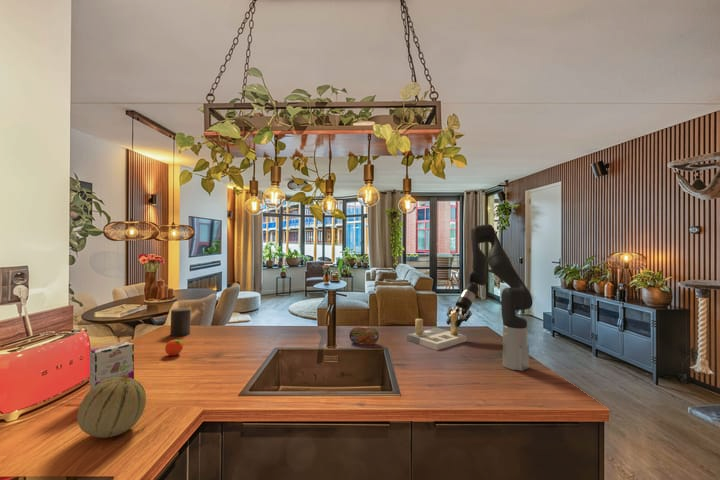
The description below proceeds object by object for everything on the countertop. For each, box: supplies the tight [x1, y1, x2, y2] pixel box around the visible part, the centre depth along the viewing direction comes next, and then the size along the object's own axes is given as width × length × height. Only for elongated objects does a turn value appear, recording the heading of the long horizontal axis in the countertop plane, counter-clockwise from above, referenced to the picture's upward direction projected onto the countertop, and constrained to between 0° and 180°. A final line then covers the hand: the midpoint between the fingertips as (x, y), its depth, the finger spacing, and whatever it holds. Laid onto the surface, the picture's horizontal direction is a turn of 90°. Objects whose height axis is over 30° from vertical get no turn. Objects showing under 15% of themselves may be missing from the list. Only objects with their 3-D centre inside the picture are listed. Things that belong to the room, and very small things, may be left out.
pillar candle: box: [169, 307, 192, 337], centre depth 181 cm, size 10×10×15 cm
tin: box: [348, 326, 380, 346], centre depth 168 cm, size 15×3×8 cm, turn 80°
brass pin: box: [449, 311, 459, 336], centre depth 175 cm, size 4×4×12 cm
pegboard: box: [406, 318, 467, 351], centre depth 174 cm, size 20×24×11 cm
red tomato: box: [164, 339, 184, 356], centre depth 148 cm, size 8×7×7 cm
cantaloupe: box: [77, 374, 147, 439], centre depth 88 cm, size 15×15×15 cm
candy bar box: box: [89, 341, 135, 391], centre depth 109 cm, size 11×5×16 cm, turn 148°
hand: (452, 324), depth 174 cm, fingers open, 5 cm apart
